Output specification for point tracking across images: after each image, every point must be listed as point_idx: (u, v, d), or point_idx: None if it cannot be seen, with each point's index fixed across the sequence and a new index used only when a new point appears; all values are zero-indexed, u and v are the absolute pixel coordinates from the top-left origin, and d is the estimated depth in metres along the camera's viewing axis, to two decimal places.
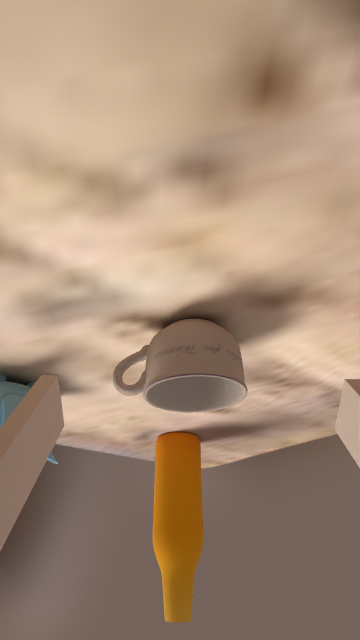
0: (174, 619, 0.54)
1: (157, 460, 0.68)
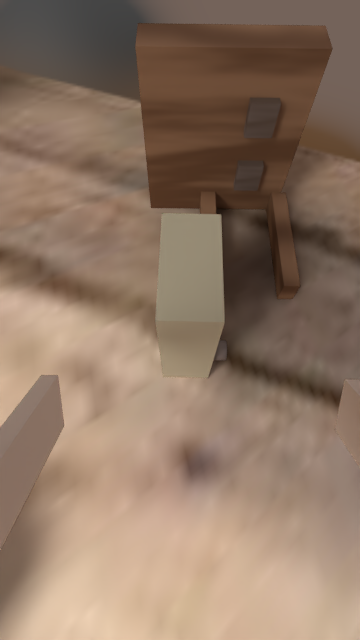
0: None
1: None
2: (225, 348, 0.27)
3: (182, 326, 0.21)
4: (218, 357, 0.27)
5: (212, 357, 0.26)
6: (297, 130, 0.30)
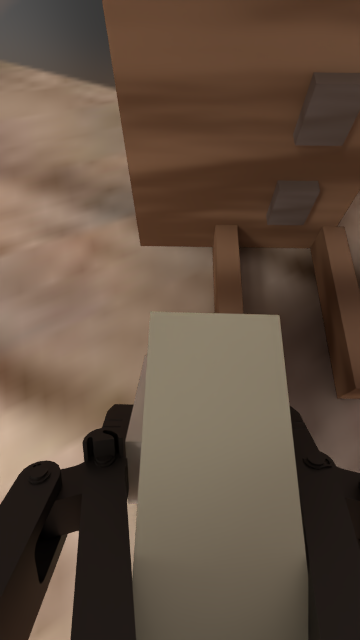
0: None
1: None
2: None
3: None
4: None
5: None
6: None
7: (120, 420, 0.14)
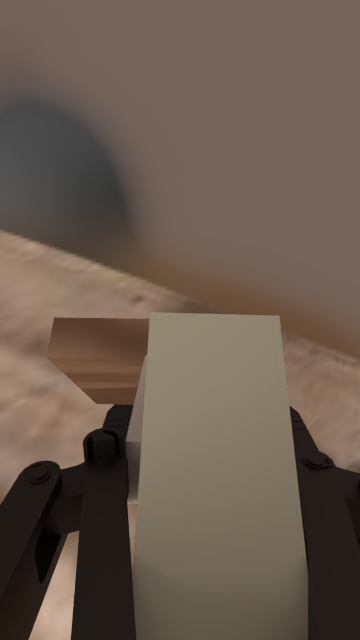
0: None
1: None
2: None
3: None
4: None
5: None
6: None
7: (120, 420, 0.14)
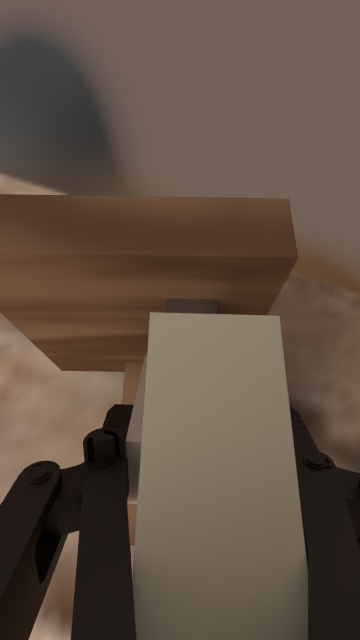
0: None
1: None
2: None
3: None
4: None
5: None
6: None
7: (120, 420, 0.14)
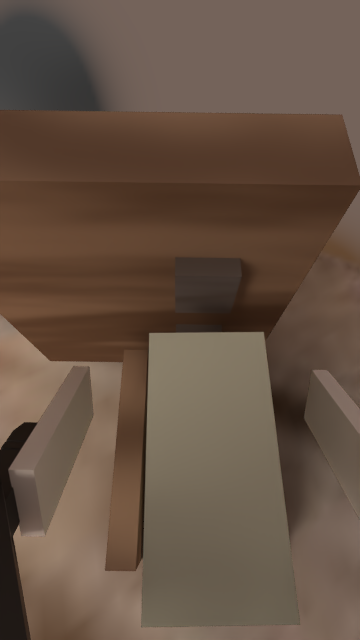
0: None
1: None
2: None
3: None
4: None
5: None
6: (281, 296, 0.15)
7: (23, 441, 0.12)
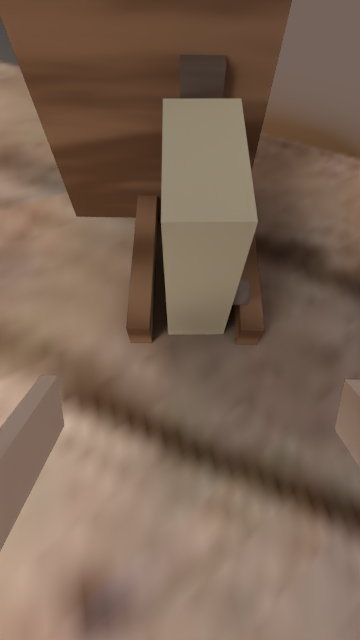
0: None
1: None
2: (247, 287, 0.21)
3: (198, 233, 0.15)
4: (238, 299, 0.21)
5: (232, 295, 0.20)
6: (257, 108, 0.21)
7: None
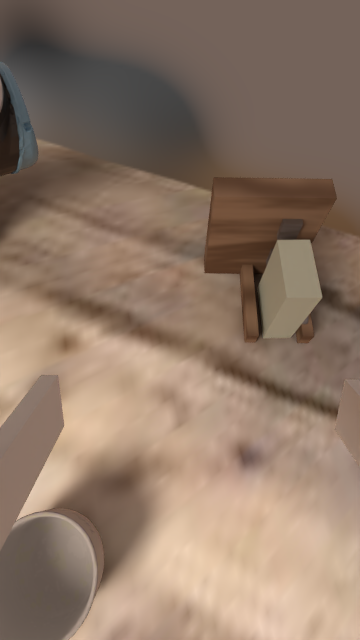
0: None
1: None
2: (307, 316, 0.46)
3: (298, 300, 0.39)
4: (303, 322, 0.46)
5: (302, 321, 0.44)
6: (312, 234, 0.45)
7: None
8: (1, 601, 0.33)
